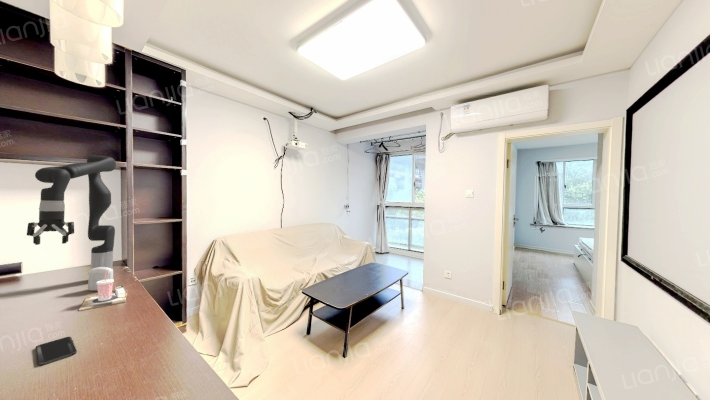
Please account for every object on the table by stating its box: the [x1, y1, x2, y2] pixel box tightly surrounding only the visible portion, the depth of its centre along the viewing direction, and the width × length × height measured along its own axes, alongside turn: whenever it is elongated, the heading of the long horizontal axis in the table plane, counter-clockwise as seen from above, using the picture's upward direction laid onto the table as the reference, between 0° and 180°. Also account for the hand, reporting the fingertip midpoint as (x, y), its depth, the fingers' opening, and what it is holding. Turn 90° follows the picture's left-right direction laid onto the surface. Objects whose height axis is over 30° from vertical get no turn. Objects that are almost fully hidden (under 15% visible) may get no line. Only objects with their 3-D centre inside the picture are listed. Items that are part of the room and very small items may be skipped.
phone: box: [34, 336, 77, 367], centre depth 80 cm, size 8×1×15 cm
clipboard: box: [78, 290, 129, 312], centre depth 119 cm, size 18×15×1 cm
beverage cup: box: [97, 271, 115, 301], centre depth 119 cm, size 6×6×14 cm
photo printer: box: [87, 267, 114, 291], centre depth 132 cm, size 10×4×12 cm, turn 98°
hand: (51, 243), depth 115 cm, fingers open, 8 cm apart
